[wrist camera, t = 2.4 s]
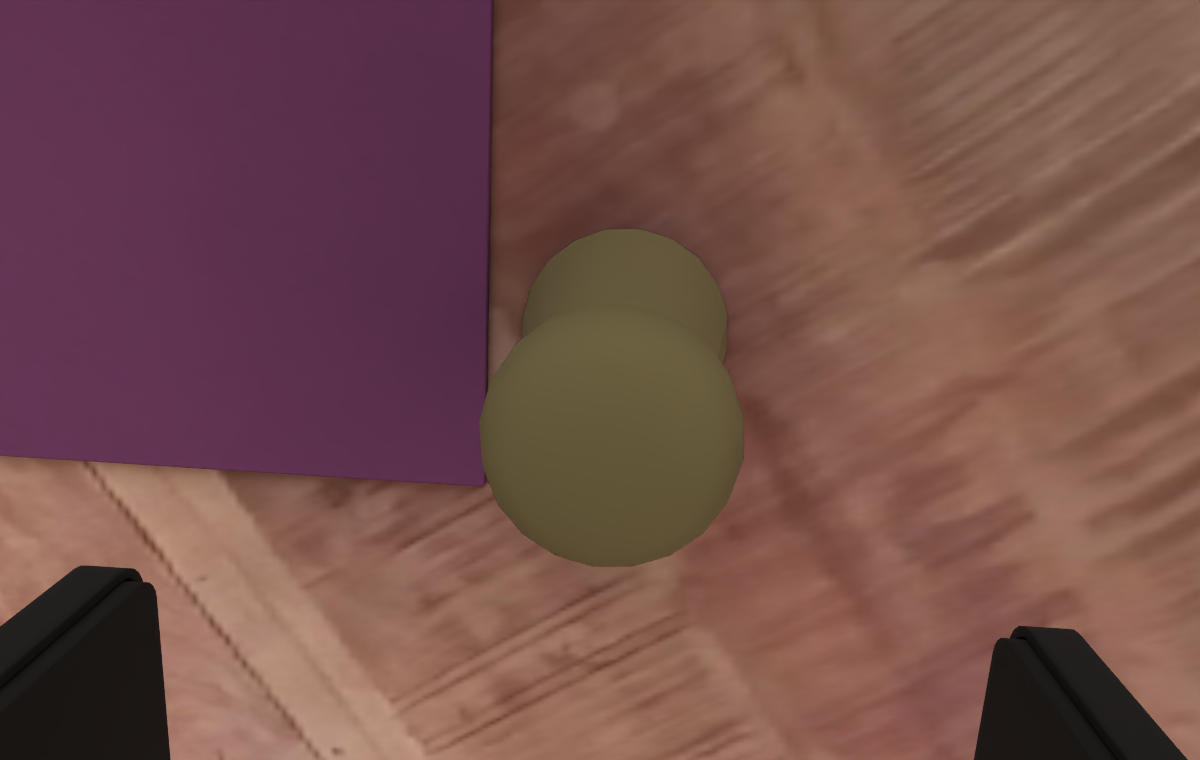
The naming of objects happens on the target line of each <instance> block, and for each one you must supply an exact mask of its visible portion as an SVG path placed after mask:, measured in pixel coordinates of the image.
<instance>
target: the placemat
mask: <svg viewBox="0 0 1200 760" xmlns="http://www.w3.org/2000/svg"><path fill="white" fill-rule="evenodd" d="M492 56H493V0H0V456H15V457H31V458H46V459H62V460H77V461H93V462H109V463H124V464H140V465H155V466H171V467H187V468H202V469H218V470H233V471H249V472H265V473H280V474H296V475H311V476H327V477H343V478H358V479H374V480H389V481H405V482H421V483H436V484H452V485H467V486H484V485H485V483H486V474H485V472H484V469H483V464H482V456H481V440H480V424H479V420H480V417H481V413H482V409H483V406H484V402H485V398H486V395H487V389H488V322H489V255H490V189H491V122H492Z"/></svg>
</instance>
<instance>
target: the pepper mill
mask: <svg viewBox="0 0 1200 760" xmlns="http://www.w3.org/2000/svg"><path fill="white" fill-rule="evenodd" d="M727 325H728V314H727V311H726V308H725V305H724V302H723V299H722V296H721V292H720V289H719V286H718V284H717V282H716V281H715V279H714V278H713V277H712V275H711V274H710V273H709V271H708V270H707V269H706V267H705V266H704V265H703V263H702V262H701V260H700V259H699V258H698V257H697V256H695V255H694V254H693V253H691V252H690V251H688V250H687V249H686V248H684V247H683V246H681V245H680V244H678V243H677V242H676V241H674V240H673V239H671V238H668V237H665V236H662V235H658V234H655V233H652V232H649V231H645V230H642V229H606V230H603V231H600V232H597V233H594V234H591V235H588V236H586V237H583V238H580V239H577V240H575V241H573V242H572V243H571V244H569V245H568V246H567V247H565V248H564V249H563V250H562V251H560V252H559V253H558V254H556V255H555V256H554V257H552V258H551V259H550V260H549V261H548V262H547V264H546V265H545V267H544V268H543V270H542V271H541V273H540V274H539V276H538V277H537V279H536V280H535V282H534V283H533V284H532V286H531V288H530V292H529V295H528V299H527V303H526V306H525V310H524V313H523V317H522V339H521V340H520V341H519V342H517V344H516V345H515V347H514V348H513V350H512V351H511V352H510V354H509V355H508V357H507V358H506V360H505V361H504V363H503V364H502V366H501V367H500V369H499V370H498V371H497V373H496V374H495V376H494V377H493V379H492V380H491V382H490V384H489V387H488V391H487V395H486V398H485V402H484V406H483V409H482V413H481V417H480V420H479V424H480V440H481V456H482V464H483V469H484V472H485V474H486V477H487V479H488V482H489V484H490V486H491V489H492V491H493V494H494V496H495V499H496V501H497V504H498V505H499V507H500V508H501V509H502V510H503V511H504V512H505V514H506V515H507V516H508V517H509V518H510V520H511V521H512V522H513V523H514V524H515V526H516V527H517V528H518V529H519V530H520V532H521V533H522V534H523V535H525V536H526V537H528V538H529V539H531V540H532V541H534V542H536V543H537V544H539V545H540V546H542V547H543V548H545V549H546V550H548V551H549V552H551V553H553V554H554V555H556V556H559V557H563V558H566V559H569V560H573V561H576V562H580V563H583V564H586V565H590V566H599V567H633V566H636V565H639V564H643V563H646V562H649V561H653V560H656V559H660V558H663V557H666V556H670V555H671V554H673V553H674V552H676V551H677V550H679V549H680V548H682V547H683V546H685V545H686V544H688V543H689V542H691V541H692V540H694V539H695V538H697V537H698V536H700V535H701V534H703V532H704V531H705V530H706V529H707V527H708V526H709V525H710V524H711V522H712V521H713V520H714V519H715V517H716V516H717V515H718V514H719V512H720V511H721V510H722V509H723V507H724V506H725V505H726V503H727V501H728V499H729V497H730V494H731V492H732V489H733V486H734V483H735V481H736V478H737V475H738V472H739V470H740V467H741V464H742V461H743V458H744V417H743V414H742V411H741V408H740V405H739V402H738V399H737V396H736V393H735V390H734V387H733V383H732V380H731V378H730V375H729V372H728V371H727V370H726V368H725V367H724V366H723V362H724V358H725V354H726V350H727Z"/></svg>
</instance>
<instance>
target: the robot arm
mask: <svg viewBox="0 0 1200 760" xmlns="http://www.w3.org/2000/svg"><path fill="white" fill-rule="evenodd" d="M0 760H170V749H169V737H168V726H167V714H166V702H165V690H164V678H163V666H162V654H161V642H160V630H159V619H158V607H157V596H156V591H155V589H154V587H153V585H152V584H150V583H147V582H143V580H142V578H141V576H140V574H139V572H138V571H136V570H135V569H131V568H115V567H100V566H79V567H77V568H75V569H74V570H72V571H71V572H70V573H69V574H67V575H66V576H65V577H63V578H62V579H61V580H60V581H58V582H57V583H56V584H54V585H53V586H52V587H51V588H49V589H48V590H47V591H45V592H44V593H43V594H42V595H40V596H39V597H38V598H36V599H35V600H34V601H33V602H31V603H30V604H29V605H27V606H26V607H25V608H24V609H22V610H21V611H20V612H18V613H17V614H16V615H15V616H13V617H12V618H11V619H9V620H8V621H7V622H6V623H4V624H3V625H2V626H0ZM974 760H1187V759H1186V757H1185V756H1184V755H1183V754H1182V753H1181V752H1180V750H1179V749H1178V748H1177V747H1176V746H1175V745H1174V743H1173V742H1172V741H1171V740H1170V739H1169V738H1168V736H1167V735H1166V734H1165V733H1164V732H1163V731H1162V729H1161V728H1160V727H1159V726H1158V725H1157V724H1156V722H1155V721H1154V720H1153V719H1152V718H1151V717H1150V715H1149V714H1148V713H1147V712H1146V711H1145V710H1144V708H1143V707H1142V706H1141V705H1140V704H1139V703H1138V701H1137V700H1136V699H1135V698H1134V697H1133V696H1132V694H1131V693H1130V692H1129V691H1128V690H1127V689H1126V688H1125V686H1124V685H1123V684H1122V683H1121V682H1120V681H1119V679H1118V678H1117V677H1116V676H1115V675H1114V674H1113V672H1112V671H1111V670H1110V669H1109V668H1108V667H1107V665H1106V664H1105V663H1104V662H1103V661H1102V660H1101V658H1100V657H1099V656H1098V655H1097V654H1096V653H1095V651H1094V650H1093V649H1092V648H1091V647H1090V646H1089V644H1088V643H1087V642H1086V641H1085V640H1084V639H1083V637H1082V636H1081V635H1080V634H1079V633H1078V632H1076V631H1075V630H1072V629H1060V628H1044V627H1029V626H1018V627H1017V628H1015V629H1014V631H1013V633H1012V634H1011V637H1010V639H1008V638H1000V639H999V640H997V642H996V644H995V647H994V650H993V655H992V660H991V666H990V672H989V677H988V683H987V689H986V694H985V700H984V706H983V711H982V717H981V723H980V728H979V734H978V740H977V745H976V751H975V757H974Z"/></svg>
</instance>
